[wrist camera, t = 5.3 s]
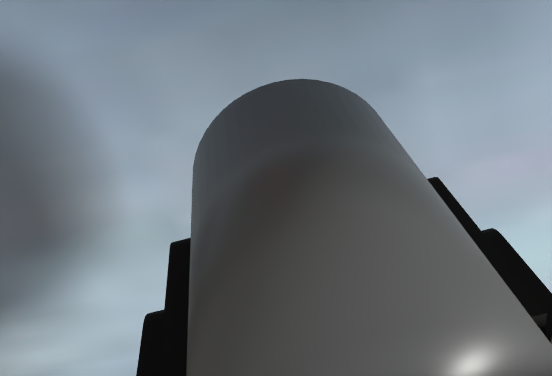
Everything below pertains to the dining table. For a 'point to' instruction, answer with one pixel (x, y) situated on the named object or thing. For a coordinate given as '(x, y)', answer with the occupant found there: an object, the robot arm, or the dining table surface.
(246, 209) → the plug
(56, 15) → the dining table surface
